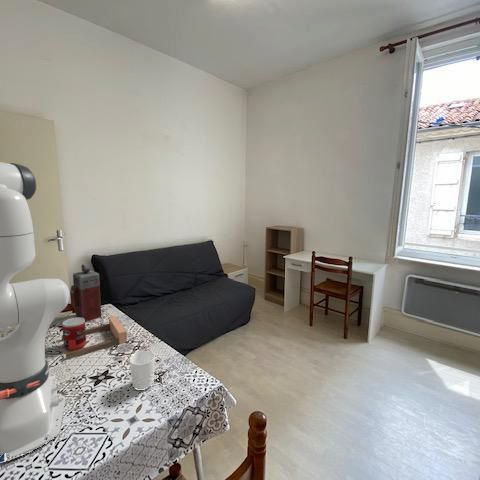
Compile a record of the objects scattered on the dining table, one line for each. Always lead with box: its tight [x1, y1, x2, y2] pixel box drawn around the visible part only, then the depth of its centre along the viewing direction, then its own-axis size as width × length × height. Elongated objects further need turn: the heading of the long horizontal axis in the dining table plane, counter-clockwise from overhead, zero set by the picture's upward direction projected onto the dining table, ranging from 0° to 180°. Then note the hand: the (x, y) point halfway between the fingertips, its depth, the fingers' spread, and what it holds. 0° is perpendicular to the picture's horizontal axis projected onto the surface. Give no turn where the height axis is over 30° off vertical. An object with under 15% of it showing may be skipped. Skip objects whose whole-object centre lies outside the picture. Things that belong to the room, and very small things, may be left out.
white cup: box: [129, 350, 156, 389], centre depth 90 cm, size 8×8×10 cm
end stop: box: [108, 315, 128, 345], centre depth 122 cm, size 18×3×5 cm, turn 38°
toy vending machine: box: [69, 263, 103, 323], centre depth 135 cm, size 9×11×28 cm
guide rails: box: [61, 323, 120, 360], centre depth 115 cm, size 18×19×2 cm
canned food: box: [61, 316, 87, 352], centre depth 111 cm, size 8×8×11 cm
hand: (9, 329), depth 98 cm, fingers closed
